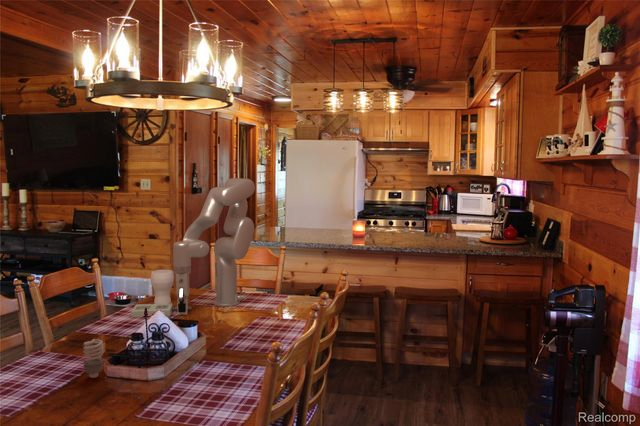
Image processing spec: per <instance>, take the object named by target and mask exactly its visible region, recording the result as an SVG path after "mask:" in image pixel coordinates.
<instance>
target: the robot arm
mask: <svg viewBox="0 0 640 426" xmlns="http://www.w3.org/2000/svg"><path fill="white" fill-rule="evenodd" d="M255 186H256V184H255V183H254V181H253V180H251V179H250V178H239V177H234V178H233V177H232V178H229V179H226V181H225V182H224V186H216V187H212V188H211V189H210V190H209V192H208V195H207V197H206V199H205V201H204V204H203V207H202V209H201V211H200V214H199V215H198V217H197V218H196V219H195V220H194V221H193V222H192V223H191V224H190V225H189V226H188V227H187V230H186V231H185V233H184V235H183V238H182V241H175V242H174V243H173V246H172V262H173V263H172V264H173V266H172V267H173V270H172V271H173V275H175V285H176V286H175V287H176V289H175V290H176V297H177V299H178V312H179V313H180V312H186V303H185V297H189V295H190V293H191V292H190V291H191V290H190V274H192V258H204V257H206V256H207V255H208V254H209V252H210V246H209V244H208V243H207V242H206V241H204V240H201V239H200V236H201V235H202V233H203V232H205V230H207V229H209V228H211V227H212V226H215V225H216V224H217V223H218V221H219V219H220V217H221V214H222V212H223V208H224V207H225V206H226V207H229V208H228V211H227V215H226V217H225V220H224V224H223V231H224V233H225V234H226V235H230V236H232V237H227V236H223V237H220V238H219V237H218V239H216V241H215V243H214V245H213V246H214V247H213V252H214V257H215V266H216V267H215V269H216V270H215V275H216V276H215V277H216V279H215V285H216V286H215V288H216V289H215V291H216V298H215V299H213V300H212V304H213V305H214V306H217V307H232V306H237V305H239V304H240V303H241V302H240V300H247V295H245V294H238V292H237V288H238V287H237V274H238V272H237V269H238V268H237V267H238V265H237V262H236V261H237V260H243V259H244V258H245V257H246V255H247V254H248V251H249V248H250V245H251V242H252V240H253V236H254V233H255V224H254V222H253V220H252V219H251V218H250V217H248V216H247V212H248V207H249V206H248V201H247V199H248V198H250V197H251V196H252V195H253V194H254V193H255V189H256V187H255ZM233 236H234V237H233ZM178 297H179V298H178ZM183 298H184V299H183ZM178 312H177V313H178Z"/></svg>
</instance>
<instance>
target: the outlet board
mask: <svg viewBox="0 0 640 426" xmlns="http://www.w3.org/2000/svg"><path fill="white" fill-rule="evenodd" d="M144 307H147V311H148V316H150V315H152V314H153V313H154V312H155V311H157V310H161V311H163V312H164V313H165V314H166V315H167V316H166V317H170V316H171V315H172V312H173V309H174V304H173V303H172V302H171V303H168V304H155V303H147V304H146V303H144V304H143V303H142V304H141V303H139V304H138V303H137V304H135V305H134V306H133V309H132V310H131V312H130V316H131V318H144V317H143V316H144Z"/></svg>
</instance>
